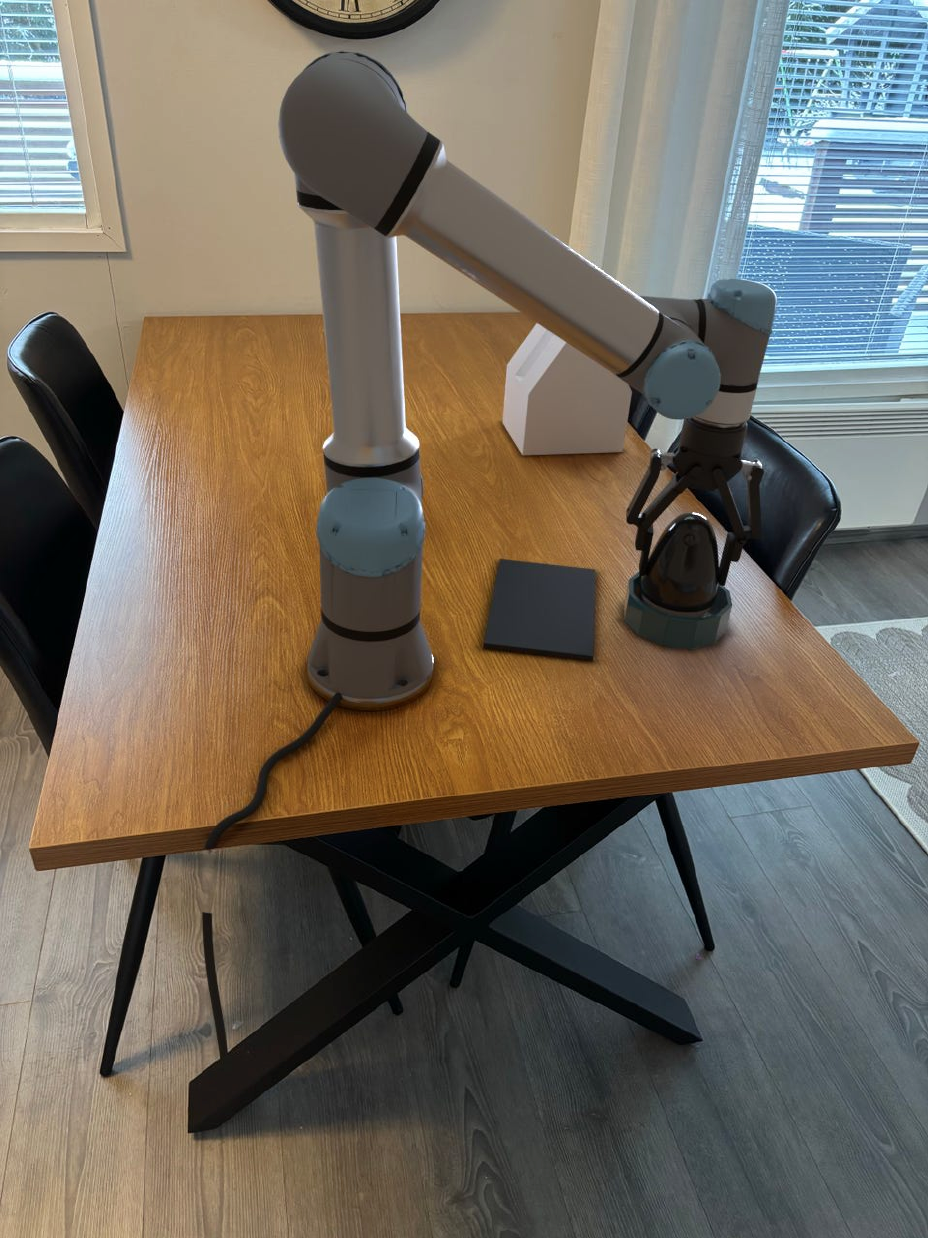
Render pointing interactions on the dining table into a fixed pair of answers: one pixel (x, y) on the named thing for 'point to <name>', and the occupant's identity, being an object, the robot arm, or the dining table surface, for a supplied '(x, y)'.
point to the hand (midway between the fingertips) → (681, 575)
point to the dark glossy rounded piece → (683, 568)
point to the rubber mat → (542, 610)
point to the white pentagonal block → (562, 399)
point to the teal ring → (676, 620)
